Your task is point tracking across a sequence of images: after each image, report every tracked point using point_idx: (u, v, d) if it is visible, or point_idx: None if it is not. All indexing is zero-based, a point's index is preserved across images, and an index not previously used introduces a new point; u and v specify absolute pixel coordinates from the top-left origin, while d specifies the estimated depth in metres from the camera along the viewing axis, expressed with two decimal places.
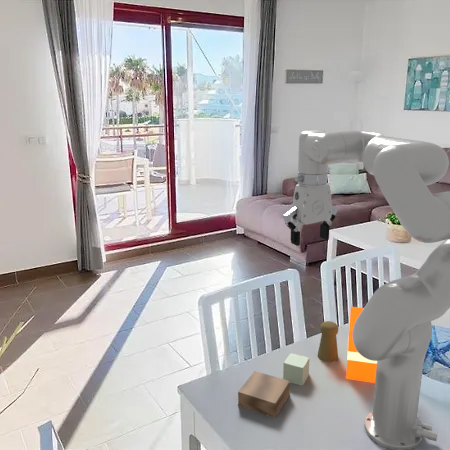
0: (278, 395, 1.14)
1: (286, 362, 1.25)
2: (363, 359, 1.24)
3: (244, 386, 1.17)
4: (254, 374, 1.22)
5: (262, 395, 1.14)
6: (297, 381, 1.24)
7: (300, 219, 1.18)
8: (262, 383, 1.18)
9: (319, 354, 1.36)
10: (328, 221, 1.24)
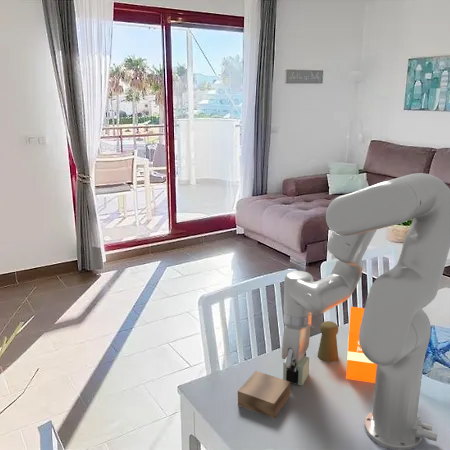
0: (278, 395, 1.14)
1: None
2: (363, 359, 1.24)
3: (244, 385, 1.18)
4: (255, 374, 1.22)
5: (261, 395, 1.14)
6: None
7: None
8: (262, 383, 1.18)
9: (319, 354, 1.36)
10: None
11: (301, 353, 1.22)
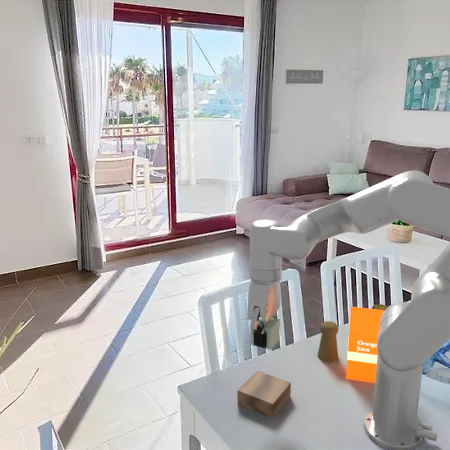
0: (277, 395, 1.13)
1: None
2: (363, 359, 1.24)
3: (244, 385, 1.18)
4: (256, 373, 1.22)
5: (260, 395, 1.14)
6: None
7: None
8: (262, 383, 1.18)
9: (319, 354, 1.36)
10: None
11: (269, 312, 1.08)
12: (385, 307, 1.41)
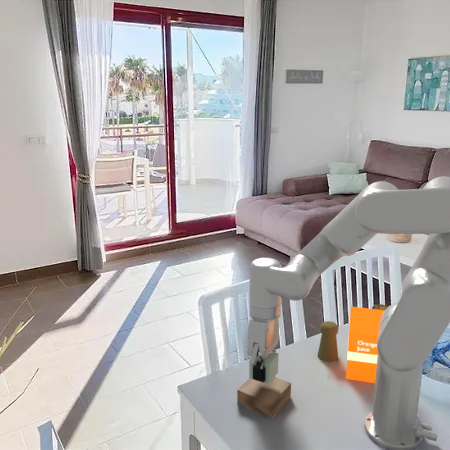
0: (277, 396, 1.13)
1: None
2: (363, 359, 1.24)
3: (244, 385, 1.18)
4: None
5: (260, 395, 1.14)
6: None
7: None
8: (262, 383, 1.18)
9: (319, 354, 1.36)
10: None
11: (268, 348, 1.10)
12: (385, 307, 1.41)
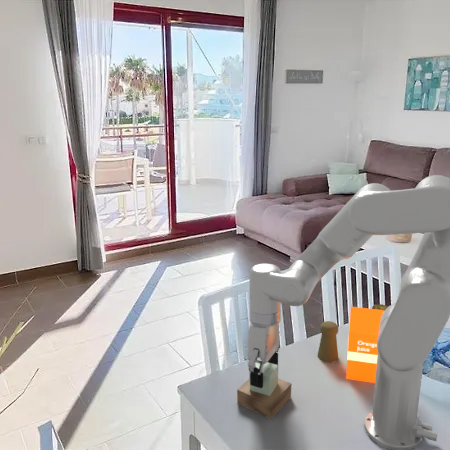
0: (277, 396, 1.13)
1: None
2: (363, 359, 1.24)
3: (244, 384, 1.18)
4: None
5: (259, 395, 1.14)
6: (264, 391, 1.14)
7: None
8: None
9: (319, 354, 1.36)
10: None
11: (268, 354, 1.11)
12: (385, 307, 1.41)
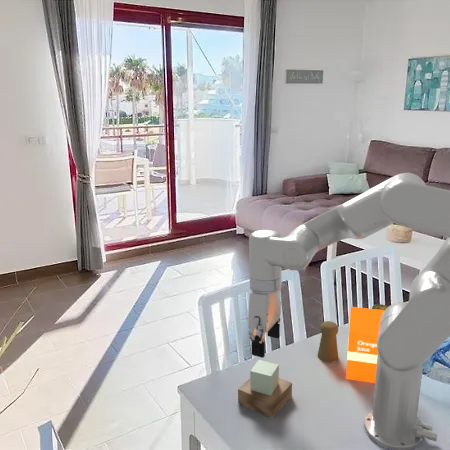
0: (277, 395, 1.14)
1: (253, 369, 1.15)
2: (363, 359, 1.24)
3: (245, 384, 1.18)
4: None
5: (260, 394, 1.14)
6: (265, 390, 1.14)
7: None
8: None
9: (319, 354, 1.36)
10: None
11: (270, 322, 1.08)
12: (385, 307, 1.41)
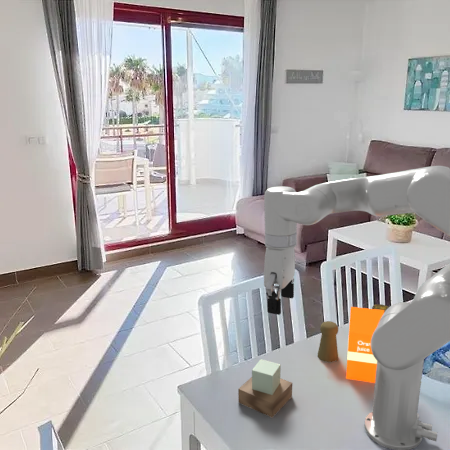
0: (278, 395, 1.14)
1: (255, 369, 1.15)
2: (363, 359, 1.24)
3: (245, 384, 1.18)
4: None
5: (261, 394, 1.14)
6: (267, 390, 1.14)
7: None
8: None
9: (319, 354, 1.36)
10: None
11: (286, 279, 1.08)
12: (385, 307, 1.41)
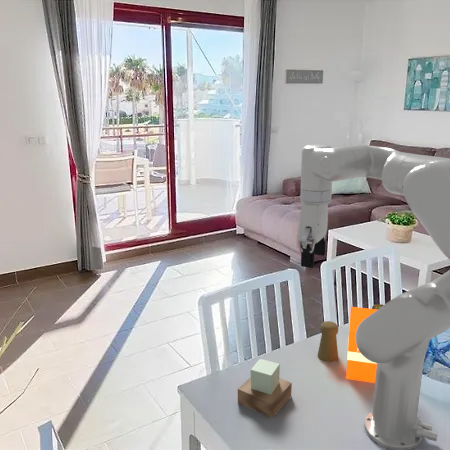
0: (277, 395, 1.14)
1: (253, 368, 1.15)
2: (363, 359, 1.24)
3: (245, 384, 1.18)
4: None
5: (260, 394, 1.14)
6: (265, 389, 1.14)
7: None
8: None
9: (319, 354, 1.36)
10: None
11: (319, 234, 1.13)
12: None
